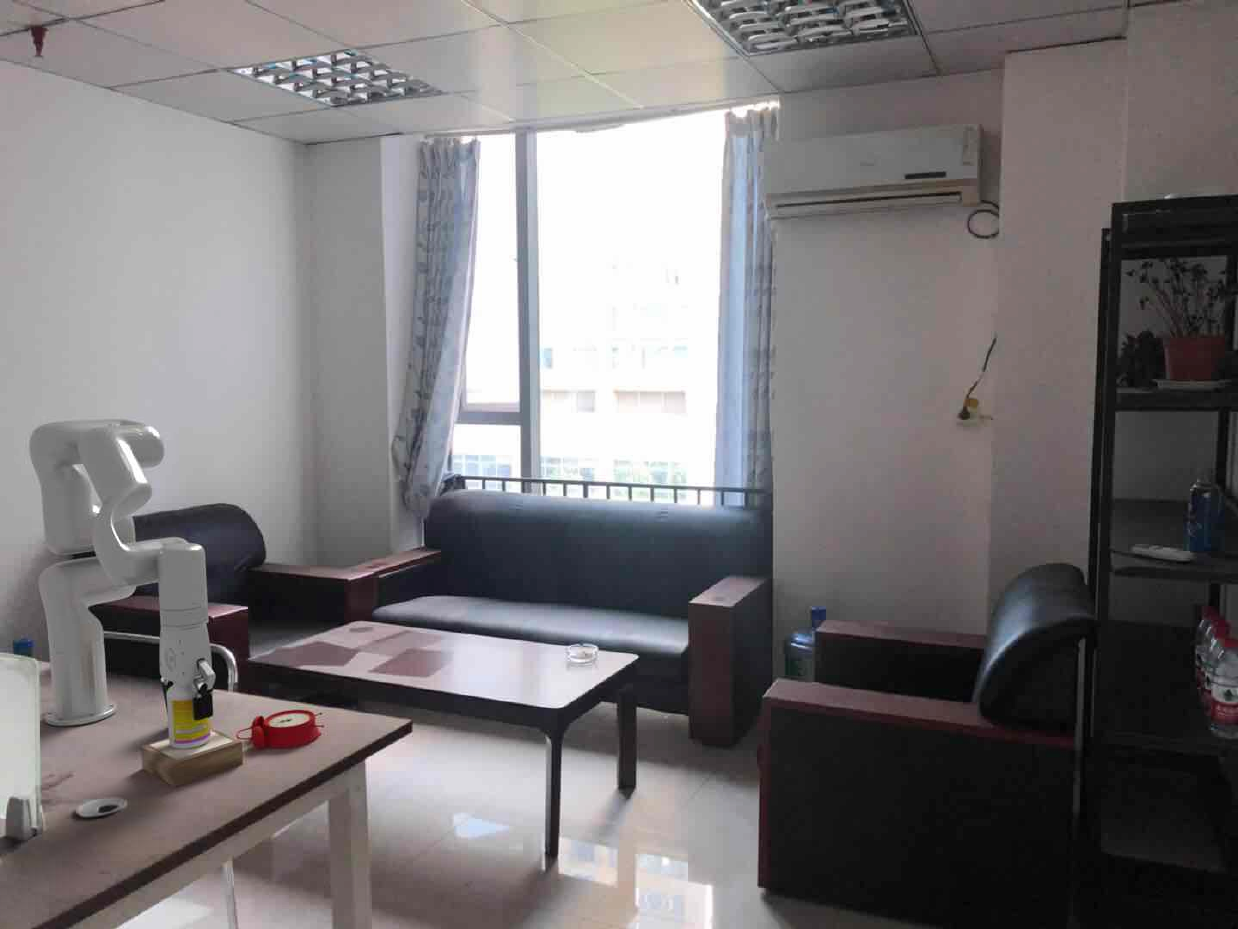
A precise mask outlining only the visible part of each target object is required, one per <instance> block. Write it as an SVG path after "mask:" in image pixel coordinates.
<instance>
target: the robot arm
mask: <svg viewBox="0 0 1238 929" xmlns="http://www.w3.org/2000/svg"><path fill="white" fill-rule="evenodd" d="M28 445H29V449H28V450H29V456H30V460H31V463H32V466H33V468H34V472H35V473H36V476H37V478H38V481H39V485H40V490H41V491H40V492H41V506H42V518H43V519H42V520H43V530H44V532H43V533H44V539H45V545H46V546H47V548H48V550H49V551H50V552H52V553H53V554H56V555H73V554H74V555H75V554H81V553H82V554H83V553H87V552H88V553H89V552H94V553H95V555H96V556H91V557H84V558H83V557H82V558H76V559H70V560H65V561H59V562H56V563H54V564H52V565H50V566H48V567H46V568H45V569H44V570H43V571H42V572H41V574H40V576H39V578H38V589H39V593H40V598H41V601H42V605H43V609H44V613H45V619H46V625H47V626H46V627H47V637H48V648H49V650H48V651H49V661H50V662H49V663H50V664H49V665H50V676H51V688H52V689H51V690H52V705H53V706H52V707H53V708H51V709H50V710H48V711H47V712H46V713H45V714H44V722H45V723H46V724H49V725H50V726H57V727H69V726H78V725H80V726H81V725H86V724H90V723H94V722H99V721H101V720H103V719H105V718H108V717H110V716H112V715H114V714H115V713H116V712H117V709H118V706H117V703H116V701H113V700H110V699H108V689H107V688H108V686H107V672H106V670H107V669H106V653H105V641H104V640H105V639H104V628H103V625H102V623H101V621H100V620H99V619H98V618H97V616H95V615H94V614H93V613H92V612H91V611H90V610H89V607H91V606H95V605H99V604H104V603H109V602H115V601H119V600H124V599H126V598H128V597H130V596H132V595H133V594H134V592H135V591H136V589H137V587H139V586H142V585H143V586H144V585H148V584H149V585H150V584H155V583H158V598H159V599H158V600H159V603H158V604H159V616H160V617H159V618H160V632H159V633H160V634H159V674H160V676H161V678H162V677H163V678H165V679H164V683H165V685H167V686H165V687H166V694H167V691H168V689H169V688H170V687H171V686H173V682H174V683H176V684H179V685H181V686H188V685H189V684H190V685H191V688H192V690H193V692H194V695H195V697H194V698H193V715H194V720H196V721H198V720H201V719H205V718H208V717H210V718H211V717H213V716H214V703H213V702H214V700H213V695H214V688H215V686H216V685H215V681H216V673H215V672H214V670H213V668H212V667H213V666H212V665H213V664H212V662H213V661H212V652H211V645H210V644H211V643H210V638H209V631H208V626H207V624H208V623H209V620H210V619H209V607H208V606H209V604H208V586H207V567H206V566H207V565H206V564H207V563H206V552H205V549H204V547H203V546H202V545H200V544H198V543H192V542H188V541H187V540H185V539H184V538H181V537H176V536H175V537H174V536H172V537H171V536H170V537H163V538H157V539H148V540H141V541H136V530H135V522H134V518H133V516H132V514H134V513H135V512H136V511H138V510H140V509H141V508H143V507H144V506H146V504H148V502H149V501H150V499H151V498H152V495H153V487H152V485H151V483H150V481H149V479H148V478H147V476H146V473H145V472H144V469H147V468H148V469H149V468H150V469H151V468H155V467H157V466H158V465H160V464H161V462H162V461H163V459H164V456H165V444H164V441H163V438H162V437H161V435H160V433H159V432H158V431H157V429H156V428H154V427H153V426H151V425H150V424H147V423H143V422H139V421H133V420H130V419H124V418H105V419H103V418H102V419H78V420H77V419H76V420H61V421H59V420H58V421H53V422H47V423H44V424H41V425H39V426H37V427H36V428H35V429H34V430H33V431H32V433H31V435H30V438H29V444H28ZM78 465H83V467H84V469H85V471H86V473H87V474H86V473H85V472H84V471H83V470H82V469H81V468H80V467H79V466H78ZM91 483H92V484H91ZM92 485H93V487H94V490H95V492H96V494H97V496H98V498H99V499H100V502H95V503H94V502H93V498H92V497H93V496H92ZM198 677H200V678H198ZM195 678H198V679H195ZM194 679H195V680H194ZM201 683H204V684H202V686H201V687H200V689H199V688H198V685H197V684H201ZM166 704H167V696H166Z"/></svg>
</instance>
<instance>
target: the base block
mask: <svg viewBox="0 0 1238 929" xmlns="http://www.w3.org/2000/svg"><path fill="white" fill-rule="evenodd" d="M210 731H211V737H210V740H209V741H208V742H207V743H205V744H203V745H201V746H198V747H194V748H189V749H177V748H174V747H172V746H171V745H170V743H169V737H166V738H163V739H161V740H157V741H154V742H151V743H148V744H144V745H141V746H140V752H141V767H142V769H143V770H145V771H146V772H148V773H150V774H151V775H153V776H155V777H157V778H158V779H160V780H161V781H164V782H165V783H167V784H169V785H170V786H172V787H173V788H177V787H179V786H182V785H185V784H188V783H190V782H194V781H196V780H199V779H203V778H205V777H208V776H211V775H214V774H217V773H220V772H223V771H226V770H229V769H232V768H235V767H237V766H241V765H243V763H244V762H243V761H244V760H243V759H244V758H243V742H242V741H241V740H240V739H238V738H235V737H232V736H230V735H228V734H226V733H224V732H222V731H219V730H217V729H215V728H213V727H211V726H210Z"/></svg>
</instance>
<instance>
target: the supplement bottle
mask: <svg viewBox="0 0 1238 929" xmlns="http://www.w3.org/2000/svg"><path fill="white" fill-rule="evenodd" d="M198 678H200V677H198ZM198 678H195V679H198ZM195 679H194V680H195ZM202 684H204V683H201V684H197V685H198V688H199V689H200V687H201V686H202ZM166 696H167V710H166V713H167V712H168V715H167V724H168V726H167V727H168V738H169V743H170V745H171V746H172V747H174V748H177V749H189V748H194V747H198V746H201V745H203V744H205V743H207V742H208V741H209V740H210V737H211V731H210V727H211V717H208V718H205V719H201V720H198V721H196V720H194V715H193V698H194V697H195V695H194V692H193V690H192V688H191V685H190V684H189V685H188V686H181V685H179V684H176V683H174V682H173V686H171V687H170V688H169V689H168V691H167V694H166Z"/></svg>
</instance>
